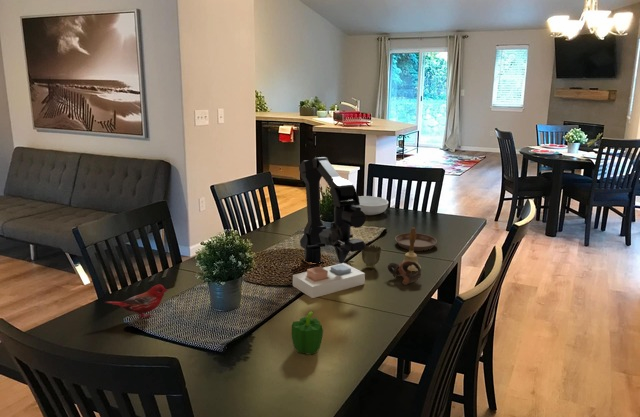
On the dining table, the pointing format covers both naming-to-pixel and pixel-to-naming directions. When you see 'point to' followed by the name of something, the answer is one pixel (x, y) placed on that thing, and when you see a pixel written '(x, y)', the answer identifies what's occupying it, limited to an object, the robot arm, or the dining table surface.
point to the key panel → (328, 282)
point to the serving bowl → (372, 204)
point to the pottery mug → (405, 271)
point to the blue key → (340, 269)
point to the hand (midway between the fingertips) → (341, 263)
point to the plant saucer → (416, 241)
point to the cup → (371, 256)
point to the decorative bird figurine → (143, 301)
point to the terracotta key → (317, 274)
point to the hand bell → (412, 251)
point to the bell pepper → (307, 334)
